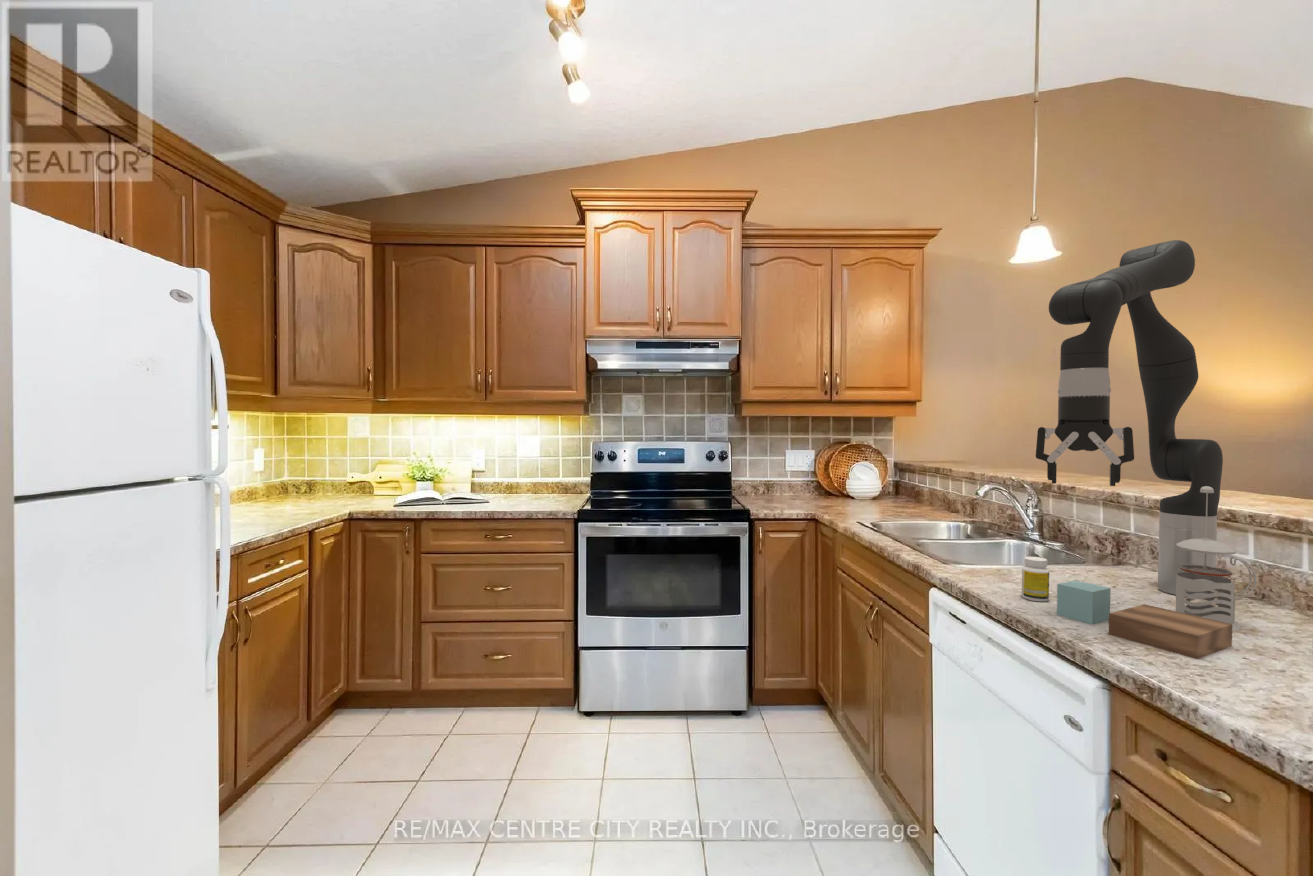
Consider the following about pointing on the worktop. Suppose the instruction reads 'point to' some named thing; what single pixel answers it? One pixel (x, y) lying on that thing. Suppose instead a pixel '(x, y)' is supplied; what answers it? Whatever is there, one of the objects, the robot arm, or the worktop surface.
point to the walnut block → (1171, 630)
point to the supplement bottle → (1035, 579)
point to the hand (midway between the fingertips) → (1082, 484)
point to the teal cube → (1083, 601)
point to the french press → (1212, 574)
